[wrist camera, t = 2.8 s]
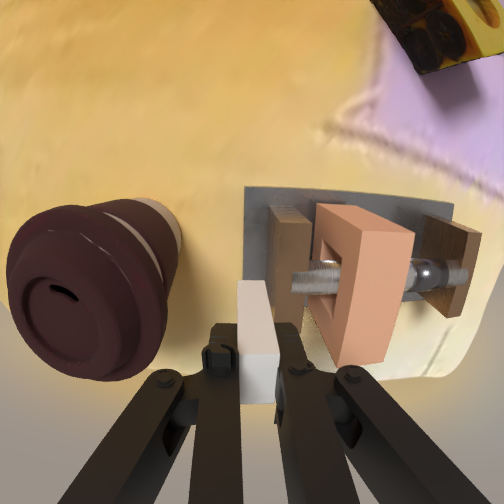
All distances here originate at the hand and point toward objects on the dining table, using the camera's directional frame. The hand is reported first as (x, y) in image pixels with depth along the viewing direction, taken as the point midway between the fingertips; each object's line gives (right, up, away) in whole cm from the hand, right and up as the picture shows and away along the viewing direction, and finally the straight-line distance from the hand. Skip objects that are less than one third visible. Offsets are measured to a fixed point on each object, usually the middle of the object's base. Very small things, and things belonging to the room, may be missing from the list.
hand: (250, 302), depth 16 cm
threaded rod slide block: (+10, +3, +10) cm, 15 cm away
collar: (+7, +2, +8) cm, 11 cm away
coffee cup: (-10, +4, +9) cm, 14 cm away
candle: (+19, +27, +3) cm, 33 cm away
